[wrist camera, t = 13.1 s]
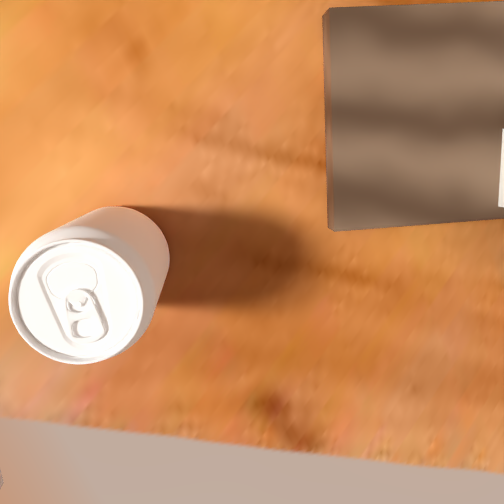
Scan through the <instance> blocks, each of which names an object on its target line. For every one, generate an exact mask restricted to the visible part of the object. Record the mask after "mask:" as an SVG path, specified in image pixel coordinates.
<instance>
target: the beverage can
mask: <svg viewBox="0 0 504 504" xmlns="http://www.w3.org/2000/svg"><path fill="white" fill-rule="evenodd" d="M169 262H170V255H169V248H168V244H167V241H166V239H165V237H164V235H163V233H162V231H161V230H160V229H159V227H158V226H157V225H156V224H155V223H154V222H153V221H152V220H151V219H150V218H148V217H147V216H146V215H144V214H142V213H140V212H138V211H136V210H134V209H130V208H126V207H120V206H109V207H103V208H99V209H96V210H93V211H91V212H89V213H87V214H85V215H83V216H81V217H79V218H77V219H75V220H73V221H71V222H69V223H67V224H65V225H63V226H61V227H59V228H57V229H55V230H52V231H50V232H48V233H46V234H45V235H43V236H41V237H40V238H38V239H37V240H35V241H34V242H33V243H32V244H31V245H29V246H28V247H27V249H26V250H25V251H24V252H23V253H22V255H21V256H20V258H19V259H18V261H17V263H16V265H15V267H14V270H13V273H12V276H11V281H10V289H9V309H10V314H11V317H12V320H13V322H14V325H15V327H16V328H17V330H18V332H19V333H20V335H21V336H22V337H23V339H24V340H25V341H26V342H27V343H28V344H29V345H30V346H31V347H32V348H34V349H35V350H36V351H38V352H39V353H41V354H43V355H44V356H46V357H48V358H51V359H53V360H56V361H59V362H63V363H69V364H89V363H95V362H99V361H102V360H105V359H108V358H111V357H114V356H116V355H118V354H120V353H122V352H124V351H125V350H127V349H128V348H130V347H131V346H132V345H133V344H134V343H136V342H137V341H138V340H139V338H140V337H141V336H142V335H143V334H144V332H145V331H146V329H147V328H148V326H149V324H150V322H151V319H152V317H153V314H154V311H155V308H156V305H157V302H158V299H159V296H160V293H161V291H162V288H163V285H164V282H165V279H166V276H167V273H168V269H169Z"/></svg>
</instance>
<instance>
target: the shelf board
mask: <svg viewBox="0 0 504 504" xmlns="http://www.w3.org/2000/svg"><path fill="white" fill-rule="evenodd" d="M323 55H324V95H325V134H326V173H327V213H328V228H329V229H331V230H333V231H334V232H335V231H348V230H361V229H374V228H387V227H400V226H413V225H426V224H439V223H452V222H465V221H478V220H491V219H504V208H503V207H498V201H499V183H500V166H501V149H502V132H503V129H504V1H493V2H467V3H440V4H414V5H388V6H362V7H336V8H329V9H328V10H327V11H326V12H325V14H324V15H323Z"/></svg>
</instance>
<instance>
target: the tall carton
mask: <svg viewBox="0 0 504 504" xmlns="http://www.w3.org/2000/svg"><path fill="white" fill-rule="evenodd" d="M498 207H503V208H504V129H503V132H502V149H501V166H500V183H499V201H498Z"/></svg>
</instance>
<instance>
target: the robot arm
mask: <svg viewBox="0 0 504 504" xmlns="http://www.w3.org/2000/svg"><path fill="white" fill-rule="evenodd" d="M2 485H3V479H2V475H1V471H0V488H1V486H2Z"/></svg>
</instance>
